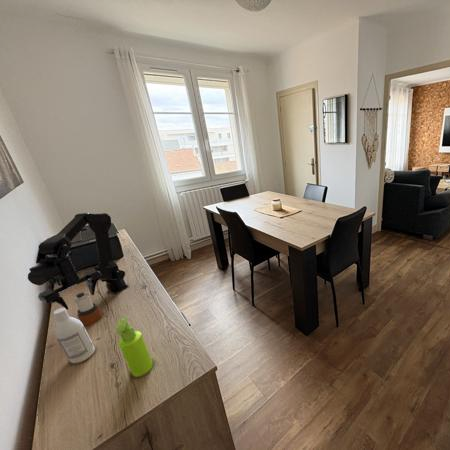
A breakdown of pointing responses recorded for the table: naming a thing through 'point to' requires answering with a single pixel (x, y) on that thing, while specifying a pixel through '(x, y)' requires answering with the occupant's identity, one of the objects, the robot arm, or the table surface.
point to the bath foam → (72, 337)
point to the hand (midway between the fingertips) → (80, 301)
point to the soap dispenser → (134, 349)
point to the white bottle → (83, 302)
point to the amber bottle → (90, 315)
